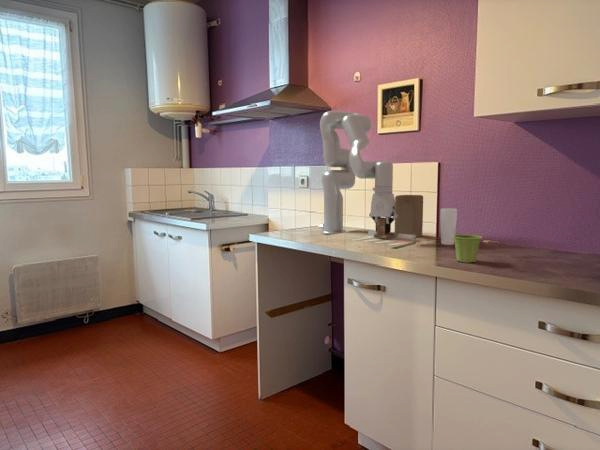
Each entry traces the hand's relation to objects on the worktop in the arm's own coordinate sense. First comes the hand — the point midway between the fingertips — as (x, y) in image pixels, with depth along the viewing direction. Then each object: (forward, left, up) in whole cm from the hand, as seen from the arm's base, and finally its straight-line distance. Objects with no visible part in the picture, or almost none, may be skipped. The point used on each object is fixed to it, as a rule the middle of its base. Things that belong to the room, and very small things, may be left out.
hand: (383, 231), depth 192 cm
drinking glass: (+24, +12, -5) cm, 27 cm away
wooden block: (+4, +15, -5) cm, 17 cm away
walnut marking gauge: (0, 0, -2) cm, 2 cm away
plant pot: (+44, -18, -5) cm, 48 cm away
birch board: (+2, -4, -4) cm, 6 cm away
